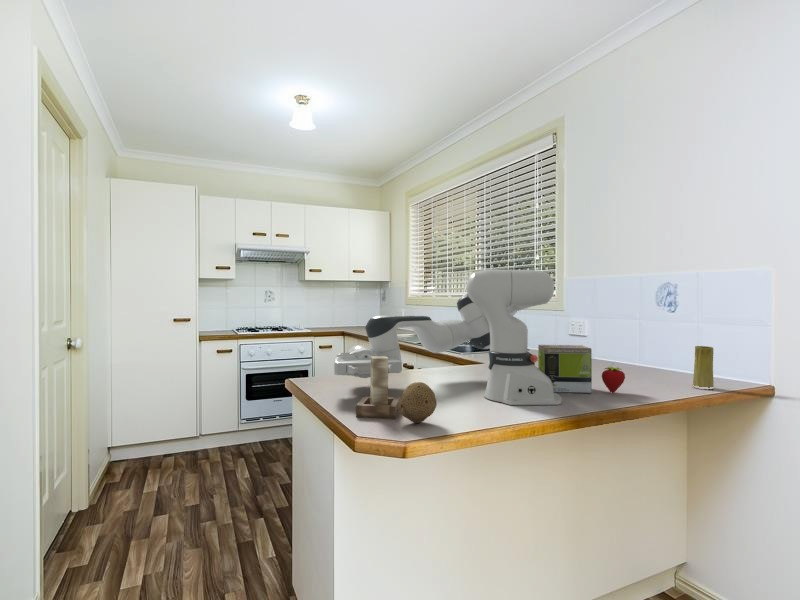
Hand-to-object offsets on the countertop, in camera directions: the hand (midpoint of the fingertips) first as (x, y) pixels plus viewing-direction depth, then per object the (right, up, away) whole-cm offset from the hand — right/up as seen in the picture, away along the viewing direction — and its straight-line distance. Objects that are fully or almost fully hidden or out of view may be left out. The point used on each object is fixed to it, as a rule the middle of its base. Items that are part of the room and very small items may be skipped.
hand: (372, 371), depth 127 cm
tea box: (+62, -10, +23) cm, 67 cm away
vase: (+112, -11, +28) cm, 116 cm away
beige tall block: (+2, -9, -9) cm, 13 cm away
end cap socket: (+2, -10, -9) cm, 13 cm away
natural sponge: (+12, -10, -18) cm, 24 cm away
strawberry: (+77, -10, +19) cm, 80 cm away
